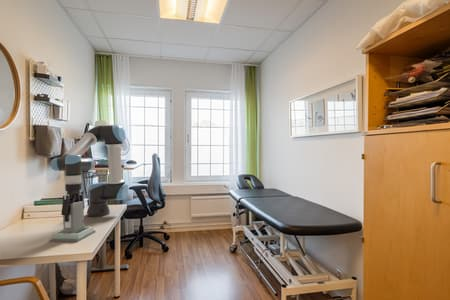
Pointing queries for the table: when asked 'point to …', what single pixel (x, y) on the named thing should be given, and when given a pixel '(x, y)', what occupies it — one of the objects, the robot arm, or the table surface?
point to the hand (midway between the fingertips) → (73, 224)
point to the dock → (72, 235)
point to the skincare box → (75, 218)
